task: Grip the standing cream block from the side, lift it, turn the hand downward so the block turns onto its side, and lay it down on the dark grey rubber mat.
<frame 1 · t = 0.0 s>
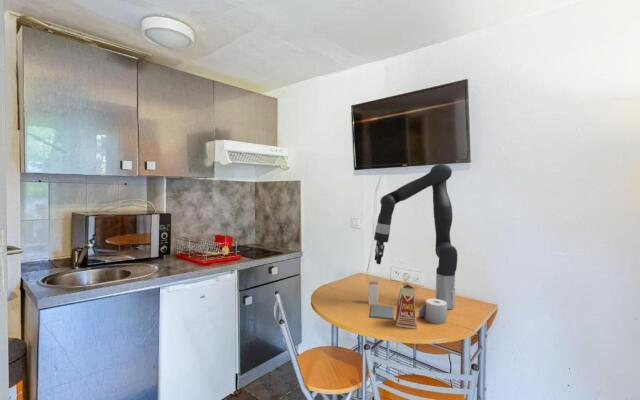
hand: (377, 262, 172), 22 cm above the table, tool pointing down, fingers open, 8 cm apart
block: (373, 303, 173), on the table
milk carton: (406, 324, 147), on the table
mat: (382, 312, 160), on the table
toilet tissue: (432, 320, 152), on the table
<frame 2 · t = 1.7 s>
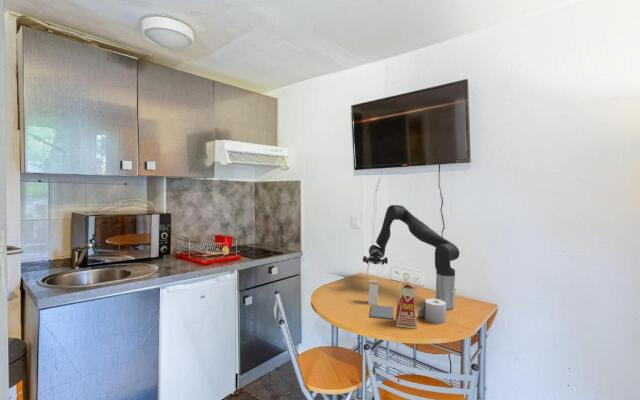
hand: (374, 262, 183), 20 cm above the table, tool horizontal, fingers open, 8 cm apart
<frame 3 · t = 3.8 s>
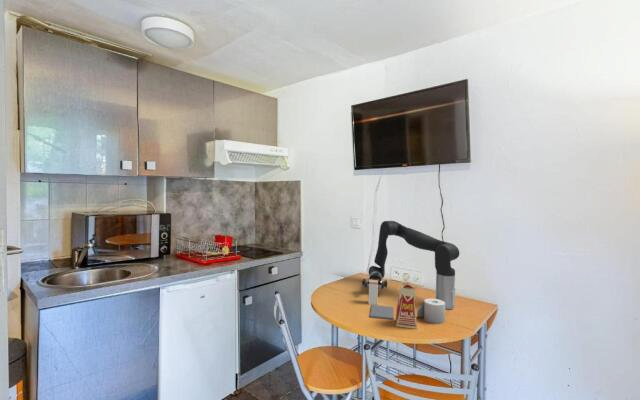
hand: (374, 286, 180), 7 cm above the table, tool horizontal, fingers open, 8 cm apart
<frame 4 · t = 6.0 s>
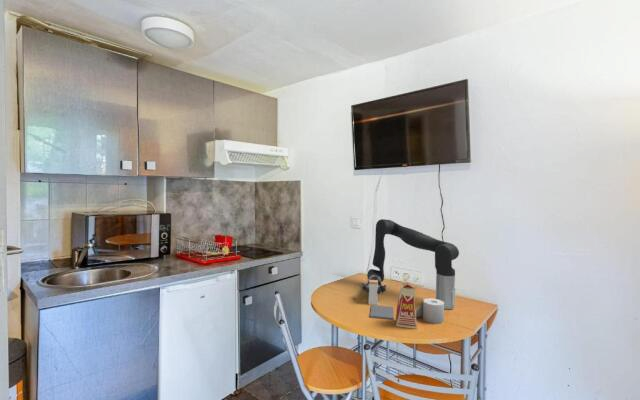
hand: (373, 291, 170), 7 cm above the table, tool horizontal, fingers closed on block, 4 cm apart
block: (373, 303, 173), on the table, touching gripper
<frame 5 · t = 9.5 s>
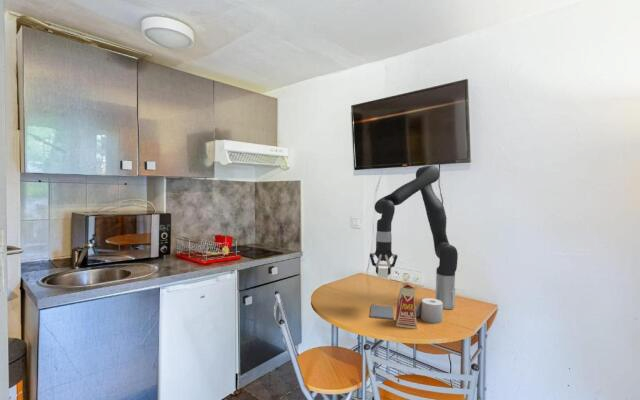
hand: (383, 274, 159), 19 cm above the table, tool pointing down, fingers closed on block, 4 cm apart
block: (382, 272, 152), point 22 cm above the table, tilted 90°, touching gripper
when the fingers open (2 cm above the table, at t = 13.1 s): block drops 2 cm, resting on mat.
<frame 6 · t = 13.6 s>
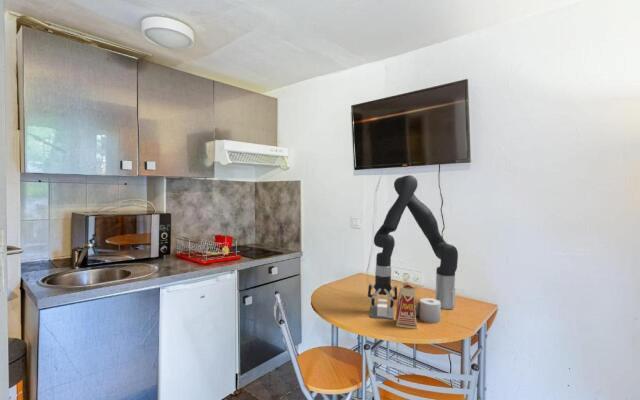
hand: (382, 306, 160), 3 cm above the table, tool pointing down, fingers open, 8 cm apart
block: (382, 311, 153), point 3 cm above the table, tilted 90°, touching mat
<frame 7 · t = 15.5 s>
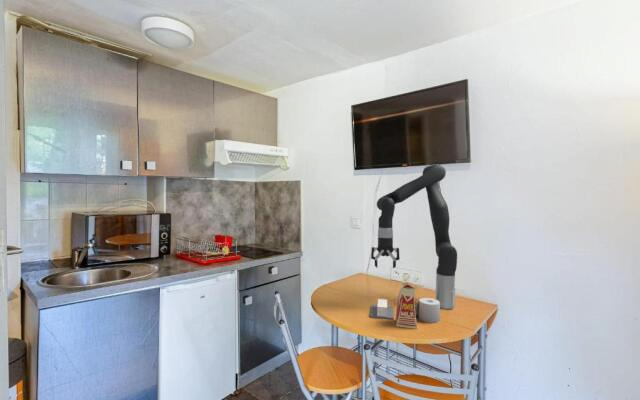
hand: (385, 267, 165), 21 cm above the table, tool pointing down, fingers open, 8 cm apart
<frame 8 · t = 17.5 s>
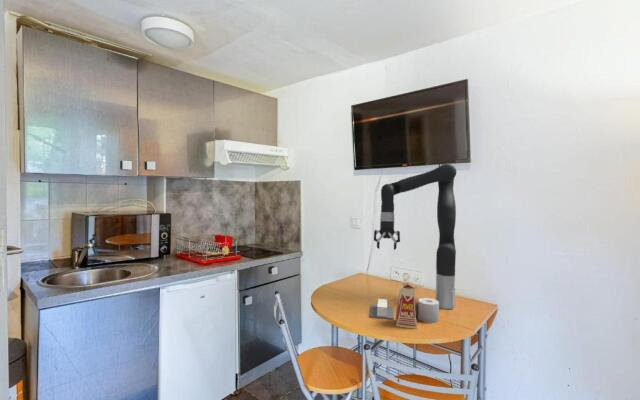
hand: (386, 249, 179), 28 cm above the table, tool pointing down, fingers open, 8 cm apart
at the end: block tilted 90°; block inside the target area on the mat (7.0 cm from its centre), point 3.0 cm above the mat's base; the gripper is holding nothing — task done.
